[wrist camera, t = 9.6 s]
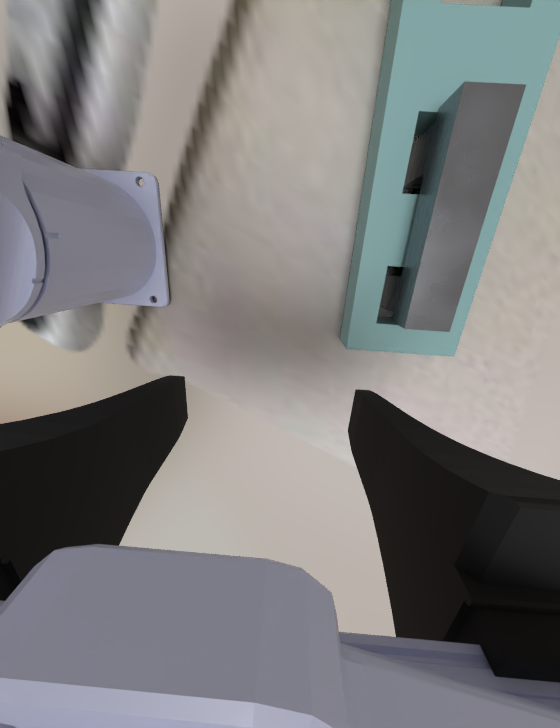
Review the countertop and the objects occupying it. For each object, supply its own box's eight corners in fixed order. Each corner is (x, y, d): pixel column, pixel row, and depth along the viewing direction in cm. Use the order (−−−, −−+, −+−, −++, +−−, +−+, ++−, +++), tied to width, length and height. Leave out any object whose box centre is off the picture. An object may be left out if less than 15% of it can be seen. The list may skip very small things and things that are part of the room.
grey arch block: (376, 311, 19) (404, 328, 14) (411, 136, 15) (464, 81, 10) (410, 313, 19) (449, 332, 14) (454, 138, 15) (526, 84, 10)
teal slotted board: (434, 344, 19) (453, 356, 17) (339, 338, 20) (346, 348, 17) (568, -109, 12) (637, -202, 9) (408, -116, 12) (437, -208, 9)
